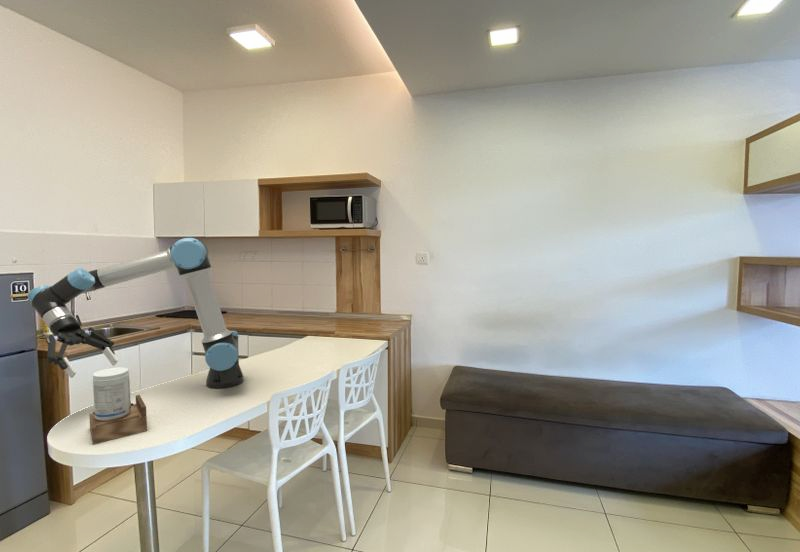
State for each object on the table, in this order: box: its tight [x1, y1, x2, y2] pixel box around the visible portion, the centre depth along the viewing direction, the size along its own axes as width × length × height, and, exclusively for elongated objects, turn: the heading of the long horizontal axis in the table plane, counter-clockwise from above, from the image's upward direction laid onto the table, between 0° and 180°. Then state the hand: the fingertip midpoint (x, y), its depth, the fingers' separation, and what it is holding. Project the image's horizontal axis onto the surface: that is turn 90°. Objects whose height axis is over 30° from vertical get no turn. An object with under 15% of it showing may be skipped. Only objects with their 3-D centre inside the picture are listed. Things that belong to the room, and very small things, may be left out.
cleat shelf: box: [88, 394, 148, 445], centre depth 129 cm, size 14×14×8 cm
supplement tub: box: [92, 366, 132, 421], centre depth 127 cm, size 10×10×15 cm
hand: (95, 368), depth 134 cm, fingers open, 13 cm apart
